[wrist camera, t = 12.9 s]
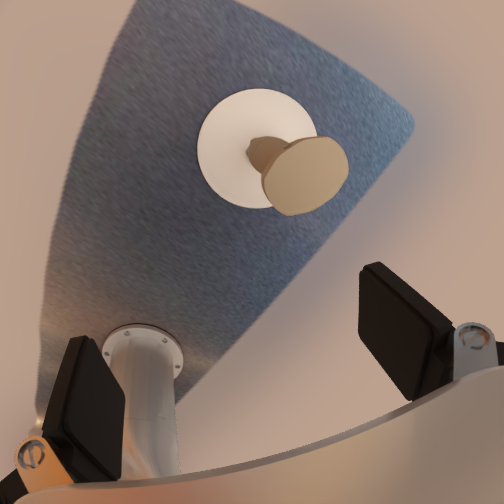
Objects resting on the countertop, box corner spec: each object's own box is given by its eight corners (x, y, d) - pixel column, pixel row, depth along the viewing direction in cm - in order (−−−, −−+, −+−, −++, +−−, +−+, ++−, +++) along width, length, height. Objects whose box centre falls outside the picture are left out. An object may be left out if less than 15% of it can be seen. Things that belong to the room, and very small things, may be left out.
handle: (293, 152, 36) (357, 180, 23) (247, 183, 36) (287, 228, 23) (271, 117, 34) (329, 123, 20) (223, 148, 34) (251, 173, 21)
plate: (320, 190, 40) (325, 193, 39) (212, 217, 39) (213, 221, 38) (302, 81, 34) (307, 80, 33) (184, 103, 33) (184, 103, 31)
